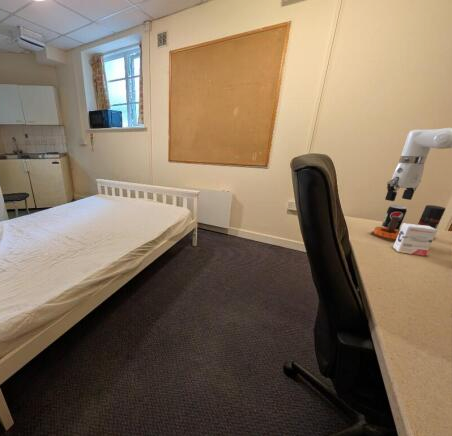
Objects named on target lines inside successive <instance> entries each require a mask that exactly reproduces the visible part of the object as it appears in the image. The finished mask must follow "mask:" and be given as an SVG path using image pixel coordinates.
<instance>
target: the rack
mask: <svg viewBox="0 0 452 436" xmlns="http://www.w3.org/2000/svg"><path fill="white" fill-rule="evenodd" d="M399 218H400V217H398V216H392V219H391V221H390V224H389V226H388V229H387V232H388V233H394V230H395V228H396V225H397V223H398V220H399ZM370 235H373V236H375V237H378V238H381V239H383V240H385V241H388V242H390V243H395V241H396V239H392V238H386V237H383V236H380V235H377V234H375V233H374V230H372V231H371V233H370Z"/></svg>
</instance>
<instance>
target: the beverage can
mask: <svg viewBox="0 0 452 436" xmlns="http://www.w3.org/2000/svg"><path fill="white" fill-rule="evenodd" d="M407 211H408V210H407V207H406V206H402V205H397V204H390V205H389V207H388V208H387V210H386V213H385V216H384V218H383V221H382V224H381V227H386V228H388V226H389V224H390V221H391V219H392V216H398V217H400V218H399V220H398V223H397V225H396V228H395V230H398V231H399V230H400V229H401V227H402V224H403V221H404V219H405V216H406V213H407Z"/></svg>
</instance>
